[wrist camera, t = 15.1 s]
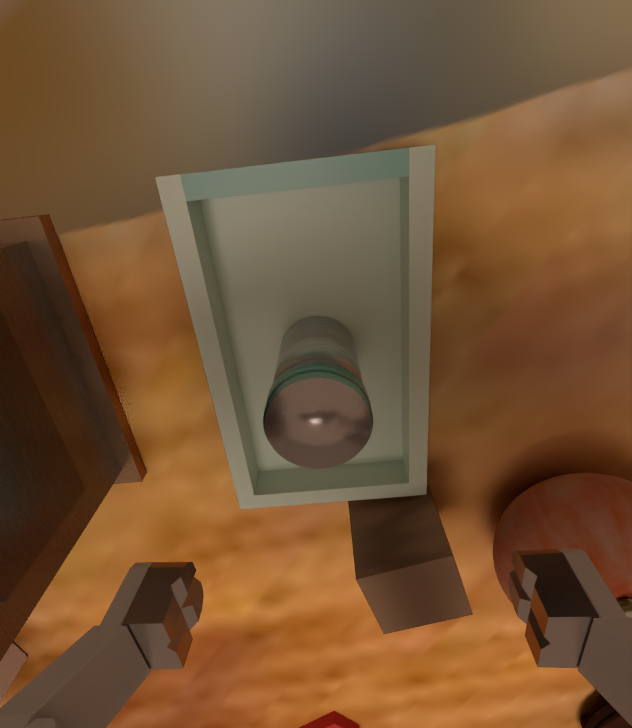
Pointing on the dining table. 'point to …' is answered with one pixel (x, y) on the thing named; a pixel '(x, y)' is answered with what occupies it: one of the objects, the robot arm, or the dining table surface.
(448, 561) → the walnut block
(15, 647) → the gable box
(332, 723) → the bracket
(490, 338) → the dining table surface
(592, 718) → the dark statuette
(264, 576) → the dining table surface
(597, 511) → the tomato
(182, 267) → the tray
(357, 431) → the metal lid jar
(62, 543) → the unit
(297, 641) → the dining table surface
